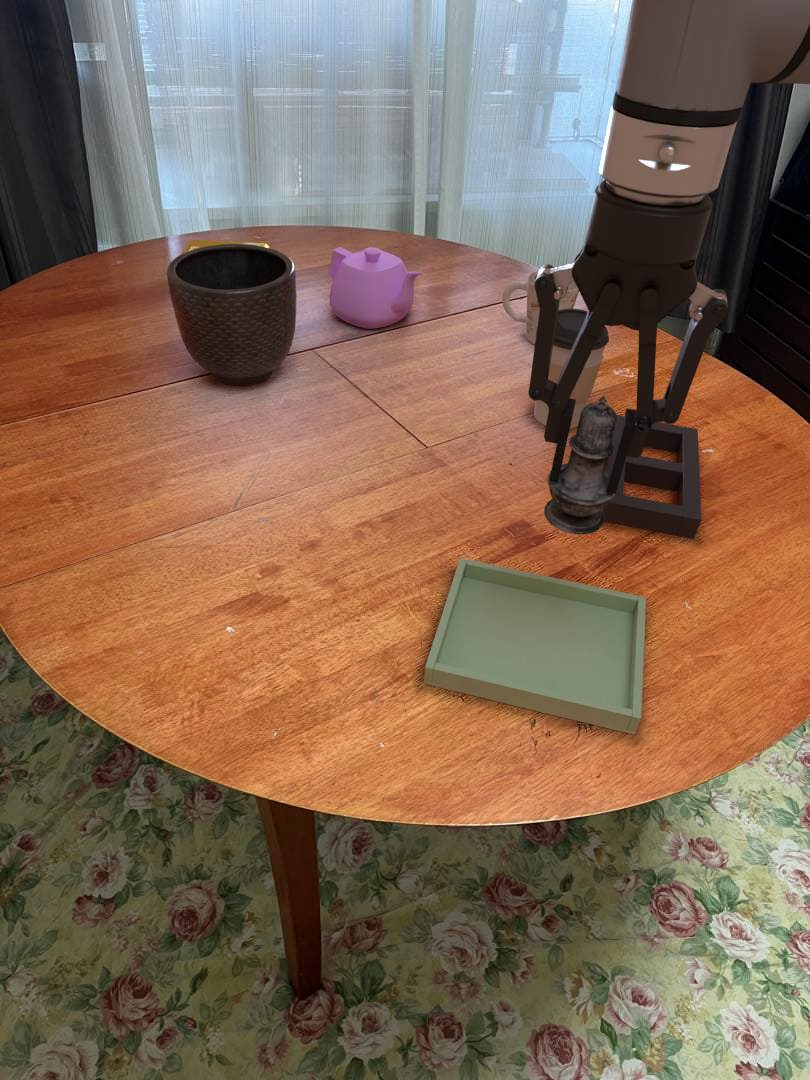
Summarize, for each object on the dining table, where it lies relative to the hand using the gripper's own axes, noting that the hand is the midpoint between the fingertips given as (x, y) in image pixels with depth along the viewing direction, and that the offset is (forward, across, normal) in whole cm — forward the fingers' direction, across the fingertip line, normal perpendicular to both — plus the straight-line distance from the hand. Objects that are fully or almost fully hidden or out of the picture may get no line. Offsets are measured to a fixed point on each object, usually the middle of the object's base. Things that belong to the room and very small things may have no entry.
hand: (583, 477), depth 64 cm
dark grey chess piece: (+4, 0, 0) cm, 4 cm away
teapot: (+20, -38, +64) cm, 77 cm away
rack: (+19, +9, +30) cm, 37 cm away
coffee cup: (+20, -4, +42) cm, 46 cm away
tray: (+19, 0, -2) cm, 20 cm away
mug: (+20, -11, +66) cm, 69 cm away
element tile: (+20, -68, +68) cm, 98 cm away
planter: (+20, -51, +38) cm, 67 cm away
